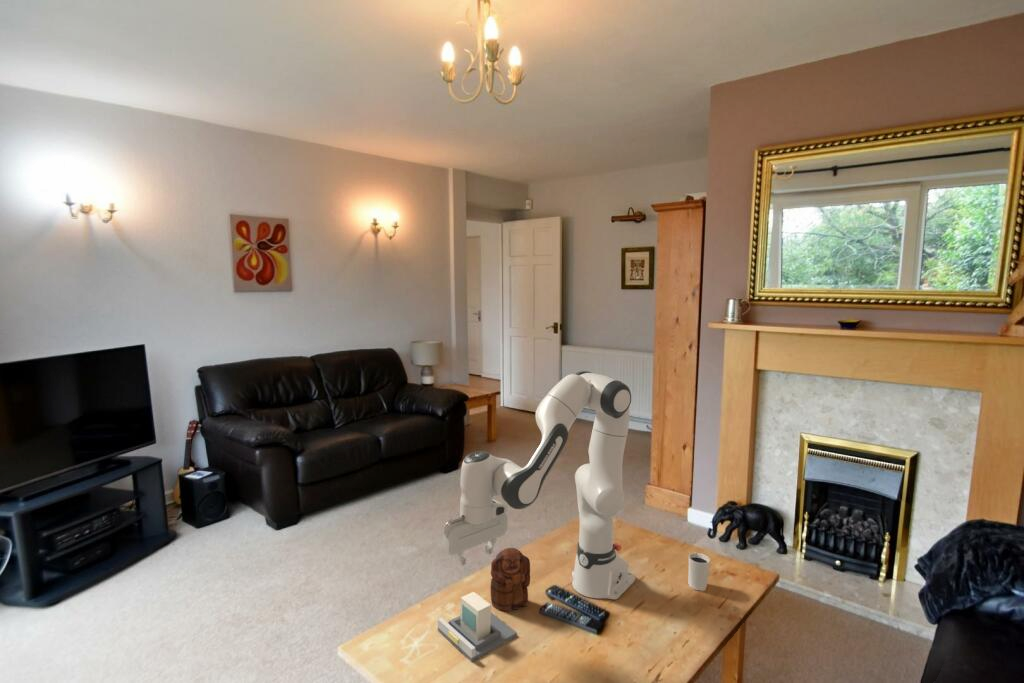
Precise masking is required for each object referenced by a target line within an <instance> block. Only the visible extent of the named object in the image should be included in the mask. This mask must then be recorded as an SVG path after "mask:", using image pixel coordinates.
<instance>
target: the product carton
mask: <svg viewBox="0 0 1024 683" xmlns="http://www.w3.org/2000/svg"><path fill="white" fill-rule="evenodd" d="M491 607H492V604H491V603H490V602H488V601H487V600H485V599H484V598H483V597H482V596H480V595H478V594H477V593H476V592H474V591H471V592H470V593H468V594H465V595H463V596H461V597H460V615H461V625H460V627H461V628H462V629H463V630H464V631H466V632H467V633H468V634H469V635H470V636H471V637H473V638H474V639H475V640H476V641H477V642H478V641H480V640H481V639H483V638H485V637H487V636H489V635H490V625H491V613H492V608H491Z"/></svg>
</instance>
